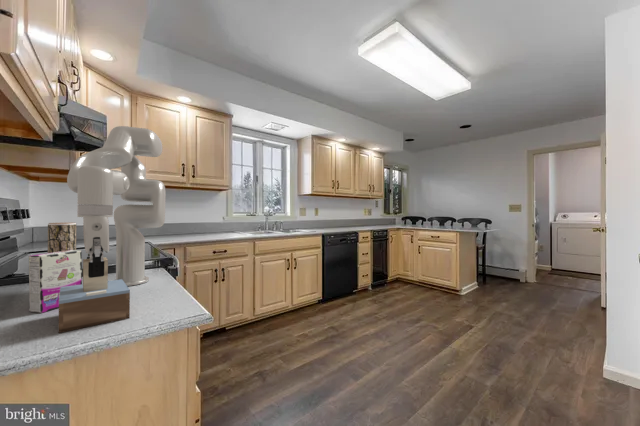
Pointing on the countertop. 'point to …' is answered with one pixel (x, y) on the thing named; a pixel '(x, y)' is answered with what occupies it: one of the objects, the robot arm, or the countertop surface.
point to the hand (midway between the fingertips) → (95, 273)
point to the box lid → (91, 292)
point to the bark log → (61, 237)
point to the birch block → (94, 278)
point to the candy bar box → (52, 277)
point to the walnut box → (93, 312)
